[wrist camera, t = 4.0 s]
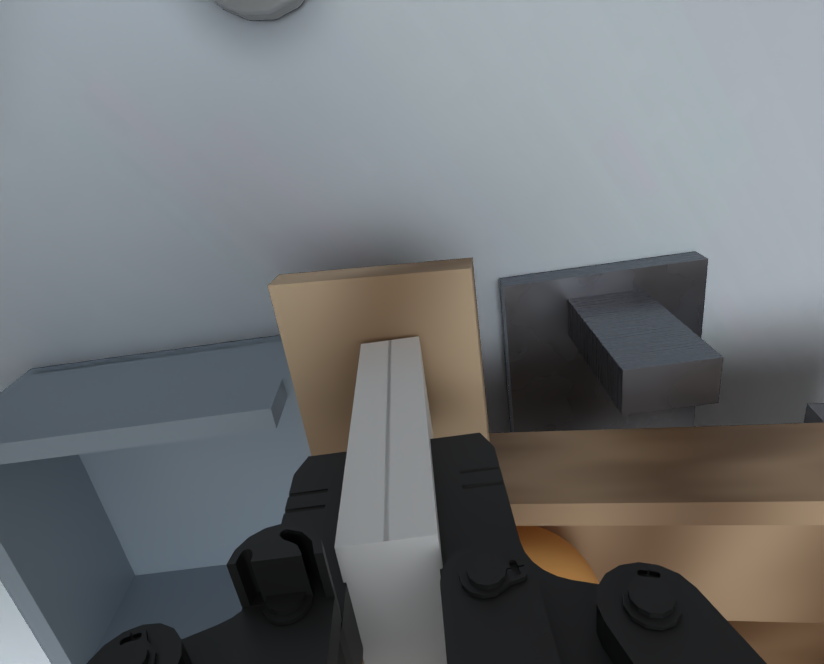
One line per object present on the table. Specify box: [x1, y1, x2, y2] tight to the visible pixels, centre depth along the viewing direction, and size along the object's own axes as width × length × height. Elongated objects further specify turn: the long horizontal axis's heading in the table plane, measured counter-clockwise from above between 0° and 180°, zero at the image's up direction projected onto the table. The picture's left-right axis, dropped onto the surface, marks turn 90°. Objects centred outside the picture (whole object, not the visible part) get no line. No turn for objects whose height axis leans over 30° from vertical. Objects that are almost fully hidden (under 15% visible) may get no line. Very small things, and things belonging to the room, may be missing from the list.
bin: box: [0, 335, 311, 664], centre depth 24 cm, size 13×13×6 cm
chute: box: [268, 258, 824, 664], centre depth 18 cm, size 22×16×6 cm
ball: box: [516, 526, 599, 584], centre depth 17 cm, size 5×5×5 cm
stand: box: [499, 252, 723, 432], centre depth 23 cm, size 8×15×7 cm, turn 8°
